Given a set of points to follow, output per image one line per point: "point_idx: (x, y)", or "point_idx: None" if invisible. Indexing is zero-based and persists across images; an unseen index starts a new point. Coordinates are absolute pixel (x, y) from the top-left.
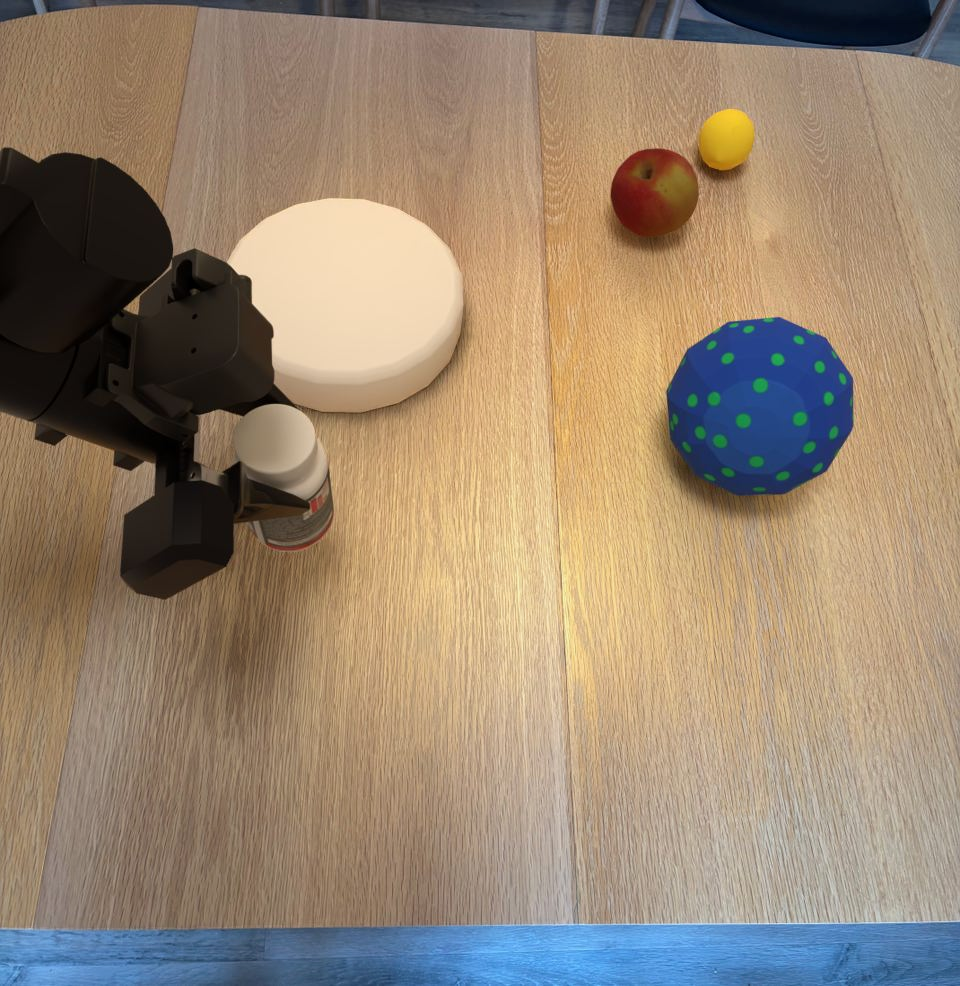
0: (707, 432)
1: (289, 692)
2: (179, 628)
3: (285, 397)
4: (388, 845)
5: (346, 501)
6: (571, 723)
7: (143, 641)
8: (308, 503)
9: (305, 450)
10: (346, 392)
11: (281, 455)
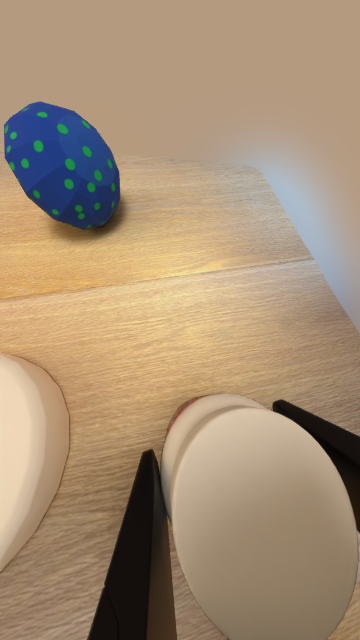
0: (92, 181)
1: None
2: None
3: (129, 514)
4: (328, 332)
5: (146, 405)
6: (242, 266)
7: None
8: (278, 403)
9: (267, 421)
10: (53, 430)
11: (299, 472)
